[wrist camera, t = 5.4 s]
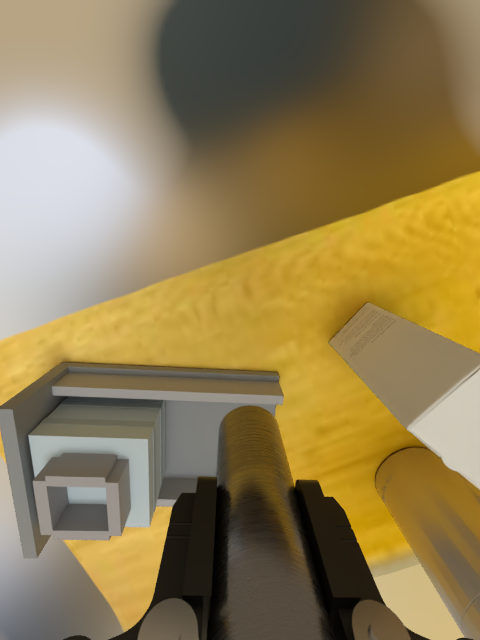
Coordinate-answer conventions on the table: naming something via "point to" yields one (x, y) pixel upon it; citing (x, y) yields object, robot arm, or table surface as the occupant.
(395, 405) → the skincare box
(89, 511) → the square socket block
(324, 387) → the table surface
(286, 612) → the handle peg
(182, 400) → the bay
